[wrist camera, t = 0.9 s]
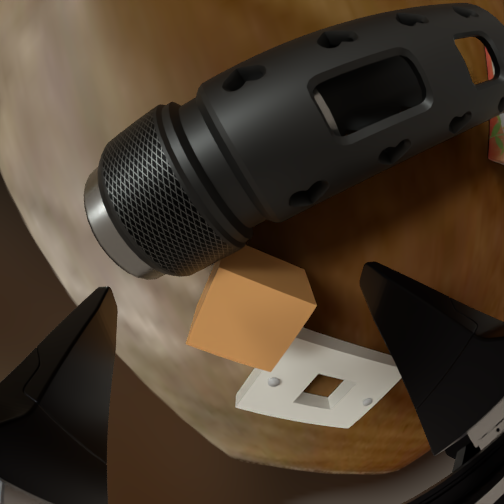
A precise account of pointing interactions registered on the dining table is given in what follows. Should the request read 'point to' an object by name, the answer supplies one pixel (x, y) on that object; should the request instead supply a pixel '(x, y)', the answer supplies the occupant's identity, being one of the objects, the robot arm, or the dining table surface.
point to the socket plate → (307, 368)
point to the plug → (251, 308)
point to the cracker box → (495, 125)
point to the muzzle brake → (287, 134)
